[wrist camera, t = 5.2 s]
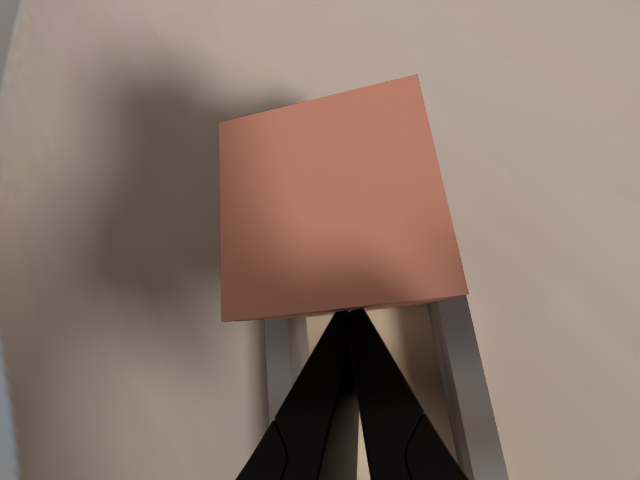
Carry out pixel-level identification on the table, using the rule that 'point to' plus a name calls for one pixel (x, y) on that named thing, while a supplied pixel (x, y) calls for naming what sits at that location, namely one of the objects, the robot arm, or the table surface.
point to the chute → (410, 375)
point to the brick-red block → (334, 208)
